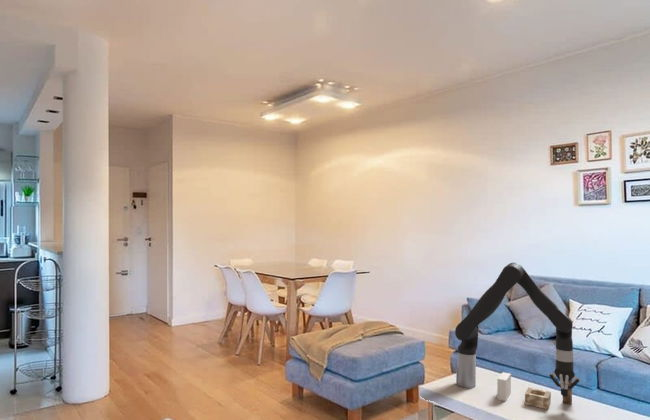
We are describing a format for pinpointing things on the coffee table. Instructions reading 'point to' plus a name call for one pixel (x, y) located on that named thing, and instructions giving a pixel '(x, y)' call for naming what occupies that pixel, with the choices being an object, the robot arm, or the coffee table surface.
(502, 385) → the wall
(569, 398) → the dowel
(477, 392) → the coffee table surface
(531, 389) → the socket block
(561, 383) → the robot arm
